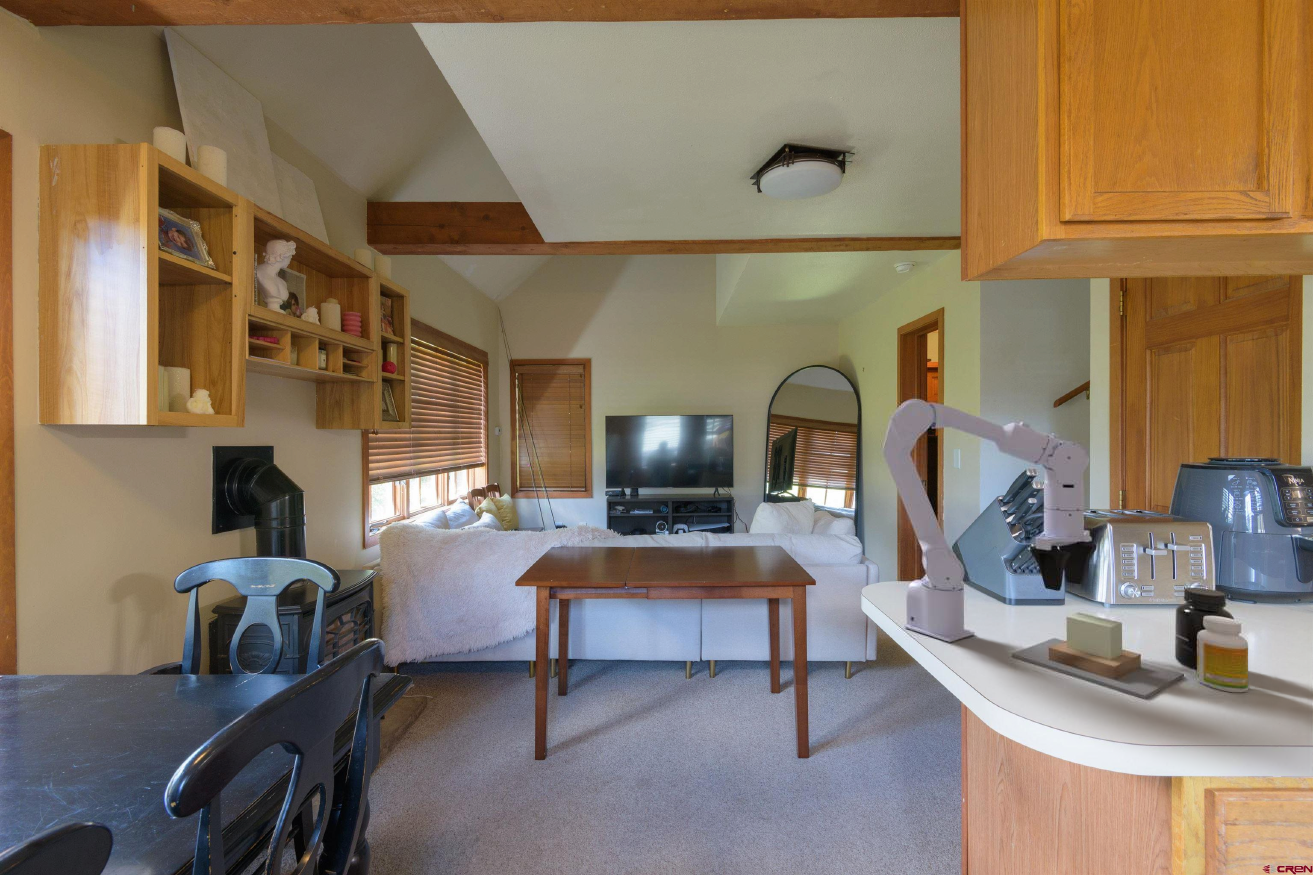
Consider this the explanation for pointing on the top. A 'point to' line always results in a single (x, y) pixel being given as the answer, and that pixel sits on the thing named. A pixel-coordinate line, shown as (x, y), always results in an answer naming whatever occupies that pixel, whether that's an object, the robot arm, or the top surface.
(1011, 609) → the top surface
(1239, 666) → the supplement bottle
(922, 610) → the robot arm
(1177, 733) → the top surface
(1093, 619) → the sage brick
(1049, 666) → the grey mat
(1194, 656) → the supplement bottle
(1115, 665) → the walnut base brick
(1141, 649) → the top surface
